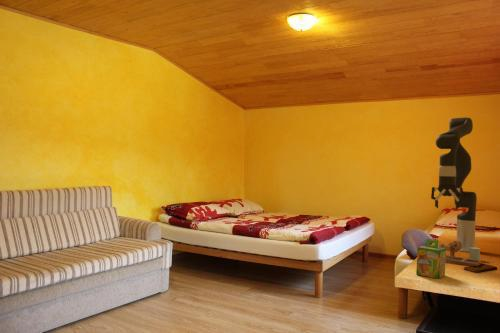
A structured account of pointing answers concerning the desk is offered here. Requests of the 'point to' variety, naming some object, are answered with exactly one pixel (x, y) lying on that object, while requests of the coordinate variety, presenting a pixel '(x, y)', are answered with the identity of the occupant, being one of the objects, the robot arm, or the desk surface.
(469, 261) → the board
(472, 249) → the block
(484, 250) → the desk surface
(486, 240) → the desk surface
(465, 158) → the robot arm
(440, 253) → the chalk box
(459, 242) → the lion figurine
